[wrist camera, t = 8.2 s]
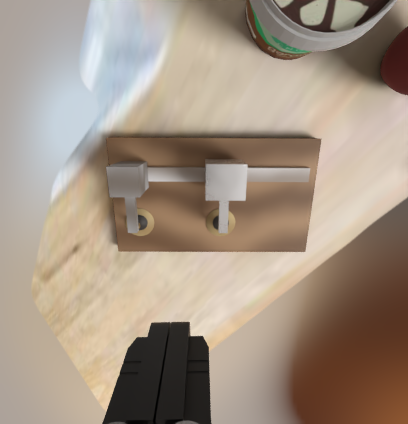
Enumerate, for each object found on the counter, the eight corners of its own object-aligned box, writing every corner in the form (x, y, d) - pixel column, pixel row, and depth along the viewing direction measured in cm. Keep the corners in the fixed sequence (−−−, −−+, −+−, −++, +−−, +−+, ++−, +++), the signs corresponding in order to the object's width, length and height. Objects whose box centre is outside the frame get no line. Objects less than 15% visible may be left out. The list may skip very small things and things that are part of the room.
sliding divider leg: (205, 159, 28) (205, 164, 24) (241, 159, 28) (247, 164, 24) (204, 227, 31) (205, 242, 27) (237, 227, 31) (243, 242, 27)
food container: (234, 78, 28) (251, 53, 19) (230, 12, 26) (246, -55, 17) (348, 64, 28) (424, 32, 18) (352, -4, 26) (439, -81, 16)
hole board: (110, 137, 30) (86, 139, 24) (315, 138, 30) (345, 141, 24) (122, 246, 34) (104, 272, 28) (300, 246, 34) (322, 272, 28)
